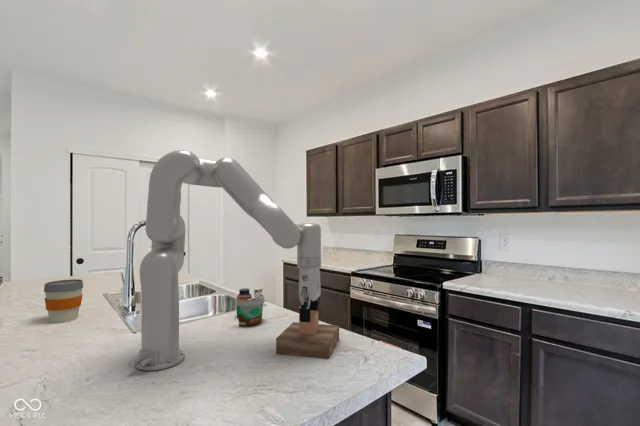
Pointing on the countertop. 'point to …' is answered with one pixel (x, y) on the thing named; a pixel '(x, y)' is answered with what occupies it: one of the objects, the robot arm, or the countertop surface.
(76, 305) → the reusable coffee cup
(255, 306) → the food container
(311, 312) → the terracotta block
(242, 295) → the supplement bottle
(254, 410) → the countertop surface
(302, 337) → the walnut block
